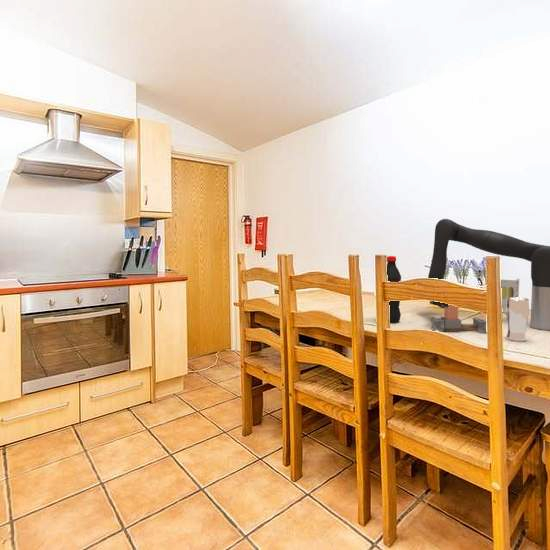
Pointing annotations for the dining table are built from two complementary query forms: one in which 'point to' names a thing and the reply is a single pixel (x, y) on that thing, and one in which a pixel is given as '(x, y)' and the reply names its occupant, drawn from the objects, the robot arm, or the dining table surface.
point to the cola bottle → (393, 277)
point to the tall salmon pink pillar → (451, 317)
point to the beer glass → (517, 318)
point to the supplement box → (509, 290)
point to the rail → (477, 325)
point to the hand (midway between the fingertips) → (453, 304)
